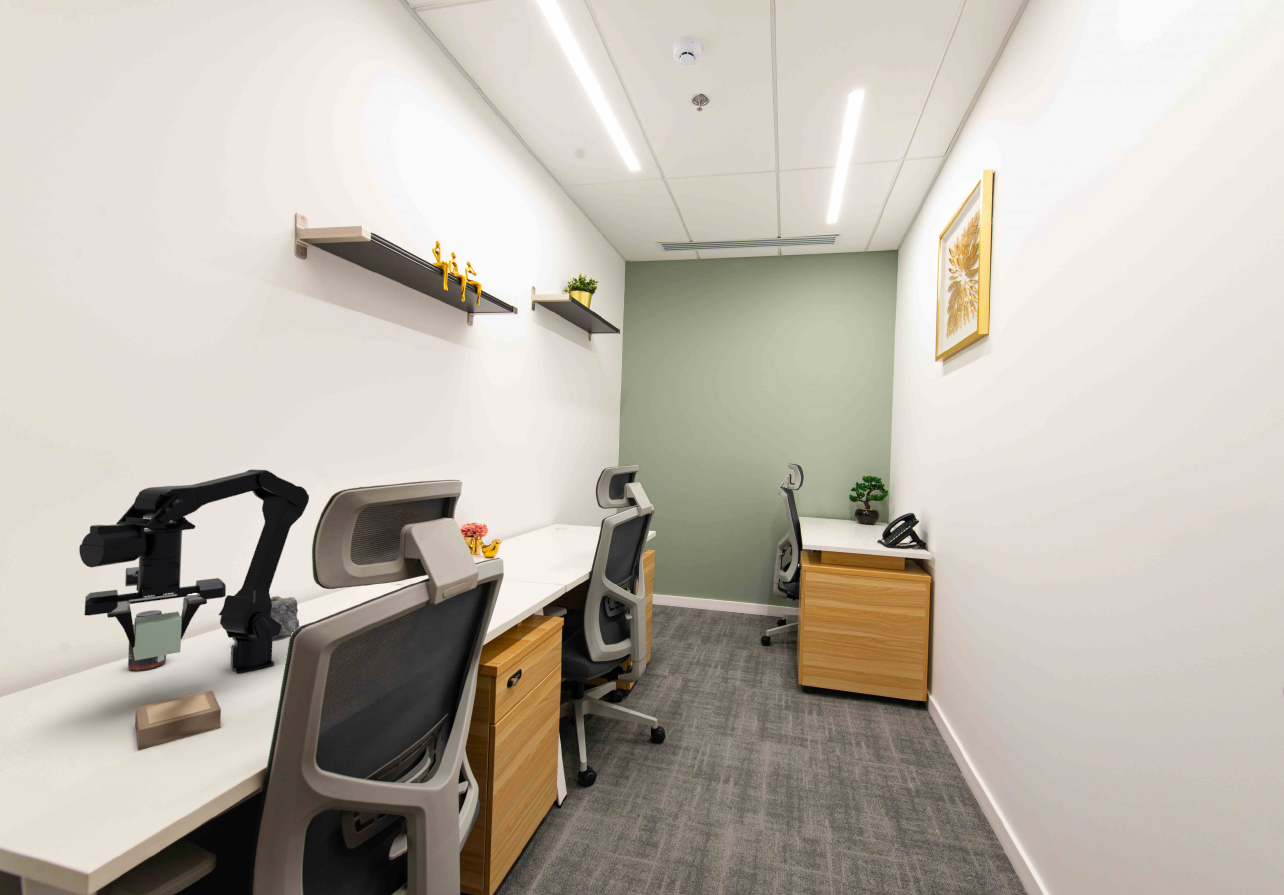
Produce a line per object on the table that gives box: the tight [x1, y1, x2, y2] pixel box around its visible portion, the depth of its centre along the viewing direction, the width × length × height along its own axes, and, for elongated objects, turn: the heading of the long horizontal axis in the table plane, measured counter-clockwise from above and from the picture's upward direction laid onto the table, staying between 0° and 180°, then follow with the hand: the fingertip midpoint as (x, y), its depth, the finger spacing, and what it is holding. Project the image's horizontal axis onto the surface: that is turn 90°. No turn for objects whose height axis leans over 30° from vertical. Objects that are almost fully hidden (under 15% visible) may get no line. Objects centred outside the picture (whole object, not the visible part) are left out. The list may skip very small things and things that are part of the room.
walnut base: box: [134, 689, 222, 751], centre depth 90 cm, size 10×10×3 cm
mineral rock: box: [231, 595, 300, 642], centre depth 132 cm, size 13×11×10 cm
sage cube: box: [133, 611, 182, 660], centre depth 97 cm, size 6×6×6 cm
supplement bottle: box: [127, 609, 167, 671], centre depth 114 cm, size 6×6×11 cm
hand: (157, 642), depth 97 cm, fingers closed on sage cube, 6 cm apart
